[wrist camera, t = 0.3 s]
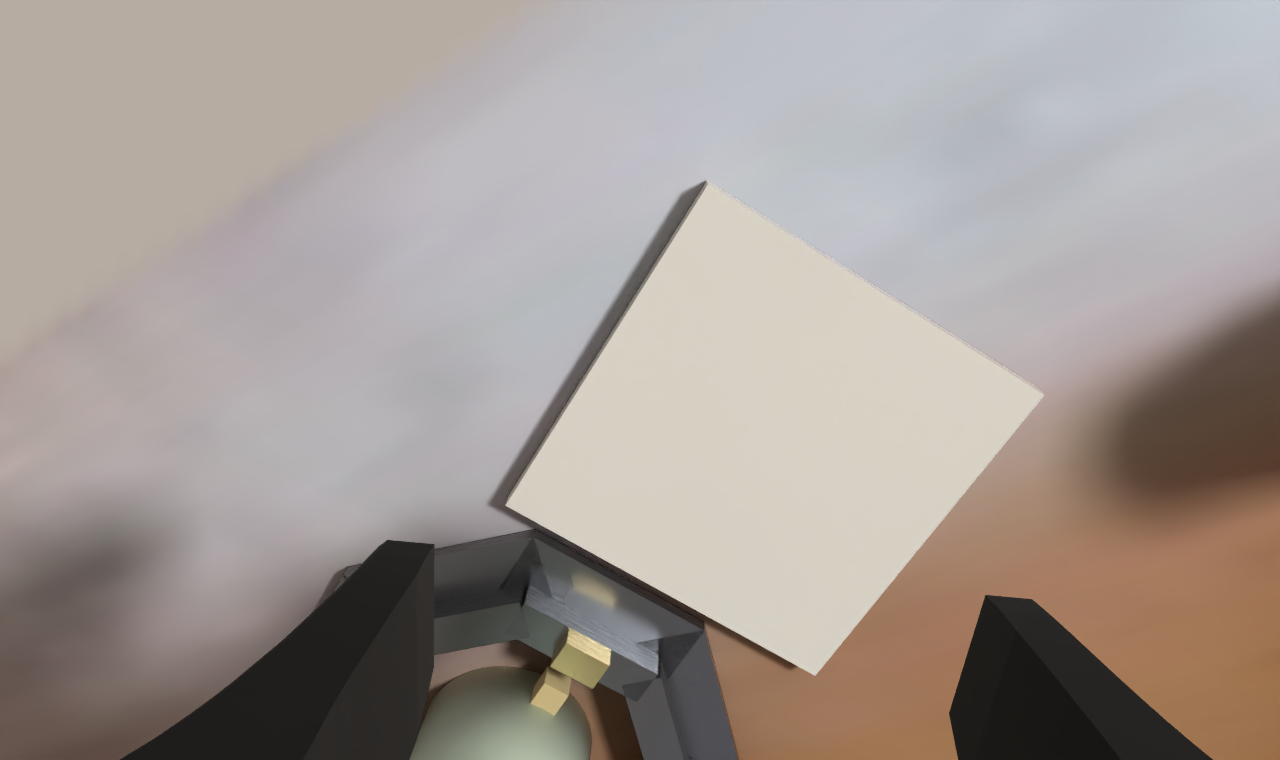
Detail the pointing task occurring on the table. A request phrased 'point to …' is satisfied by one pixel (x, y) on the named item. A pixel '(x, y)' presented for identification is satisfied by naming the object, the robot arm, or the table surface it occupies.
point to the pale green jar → (505, 718)
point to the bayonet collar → (587, 635)
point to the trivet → (768, 434)
